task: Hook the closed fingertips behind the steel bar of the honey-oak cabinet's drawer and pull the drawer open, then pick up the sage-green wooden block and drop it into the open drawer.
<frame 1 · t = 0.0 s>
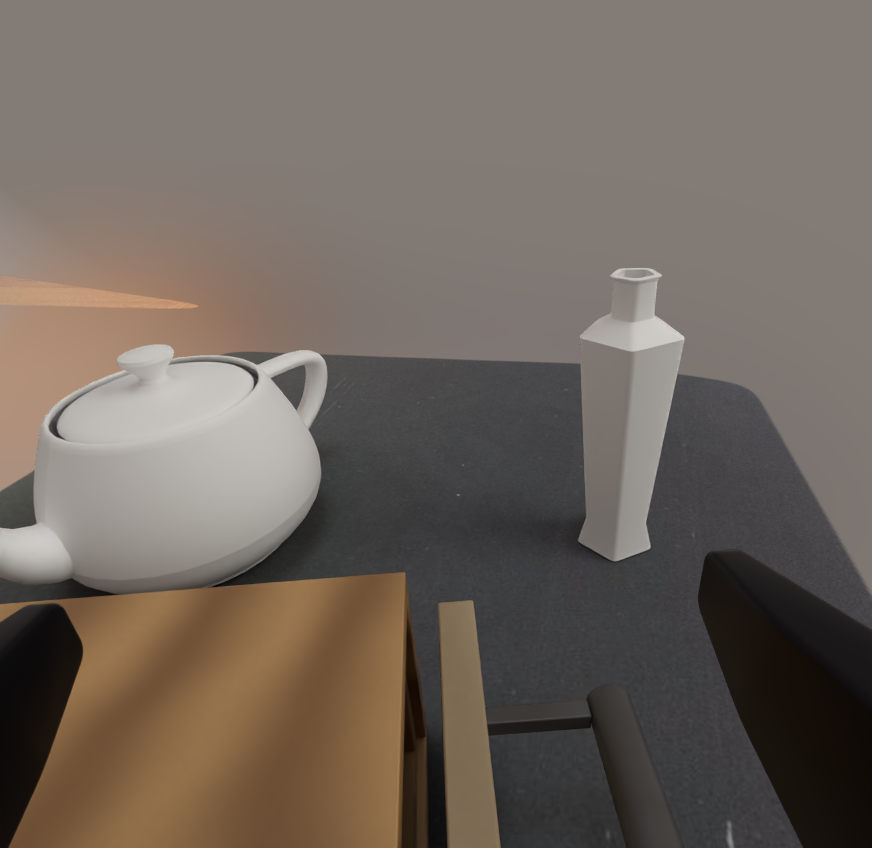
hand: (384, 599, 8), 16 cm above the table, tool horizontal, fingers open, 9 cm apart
white faceted vase: (613, 542, 33), on the table
teapot: (194, 543, 36), on the table
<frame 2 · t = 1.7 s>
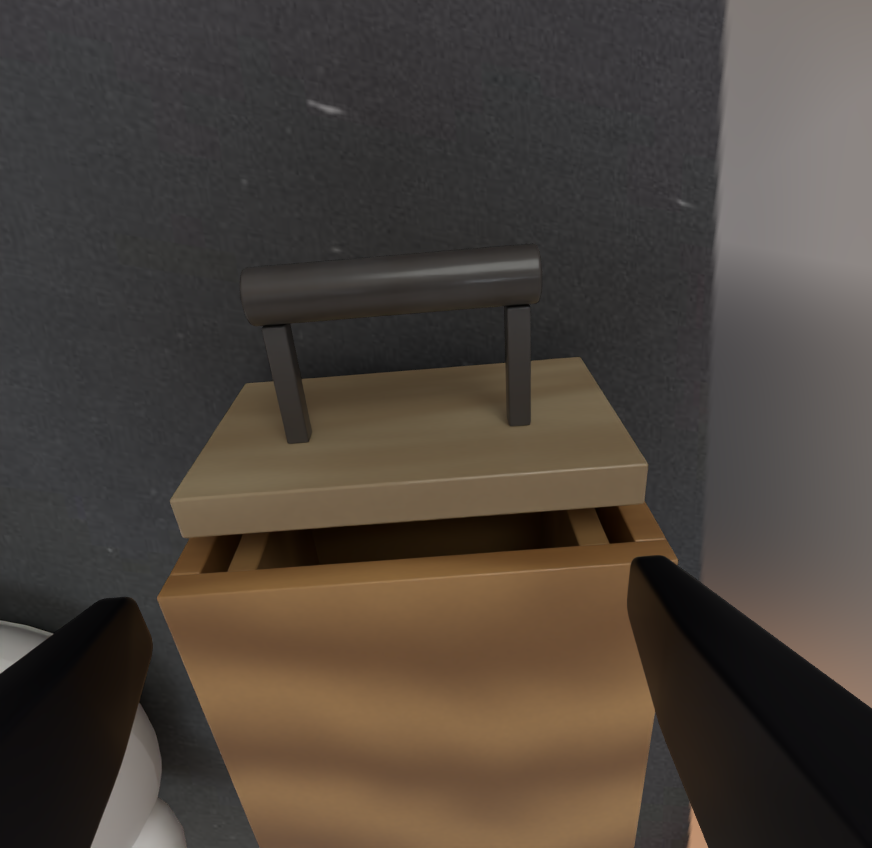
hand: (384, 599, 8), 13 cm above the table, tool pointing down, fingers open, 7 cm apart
drawer: (423, 536, 19), point 4 cm above the table, slide at 1.0 cm
cabinet: (433, 565, 25), on the table
teapot: (42, 700, 29), on the table
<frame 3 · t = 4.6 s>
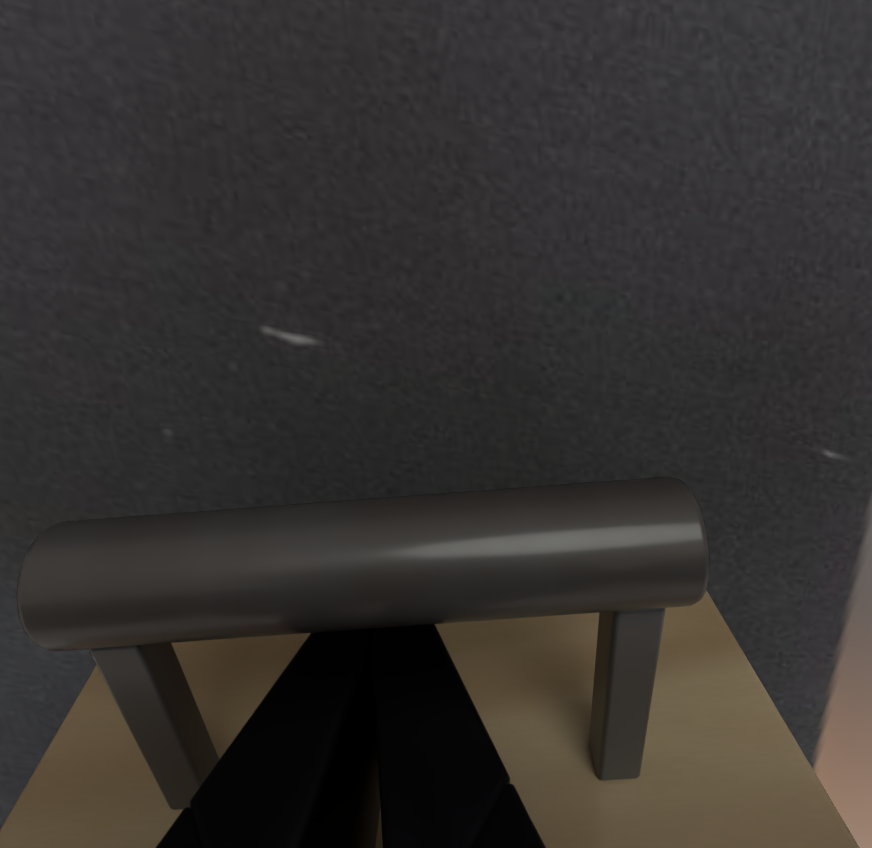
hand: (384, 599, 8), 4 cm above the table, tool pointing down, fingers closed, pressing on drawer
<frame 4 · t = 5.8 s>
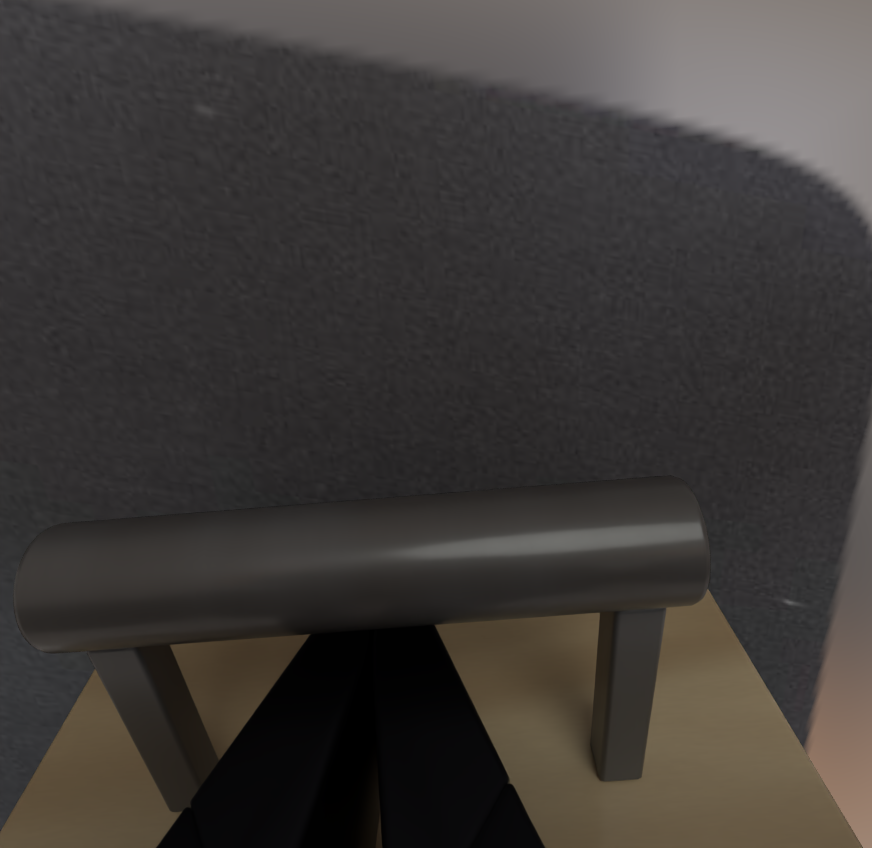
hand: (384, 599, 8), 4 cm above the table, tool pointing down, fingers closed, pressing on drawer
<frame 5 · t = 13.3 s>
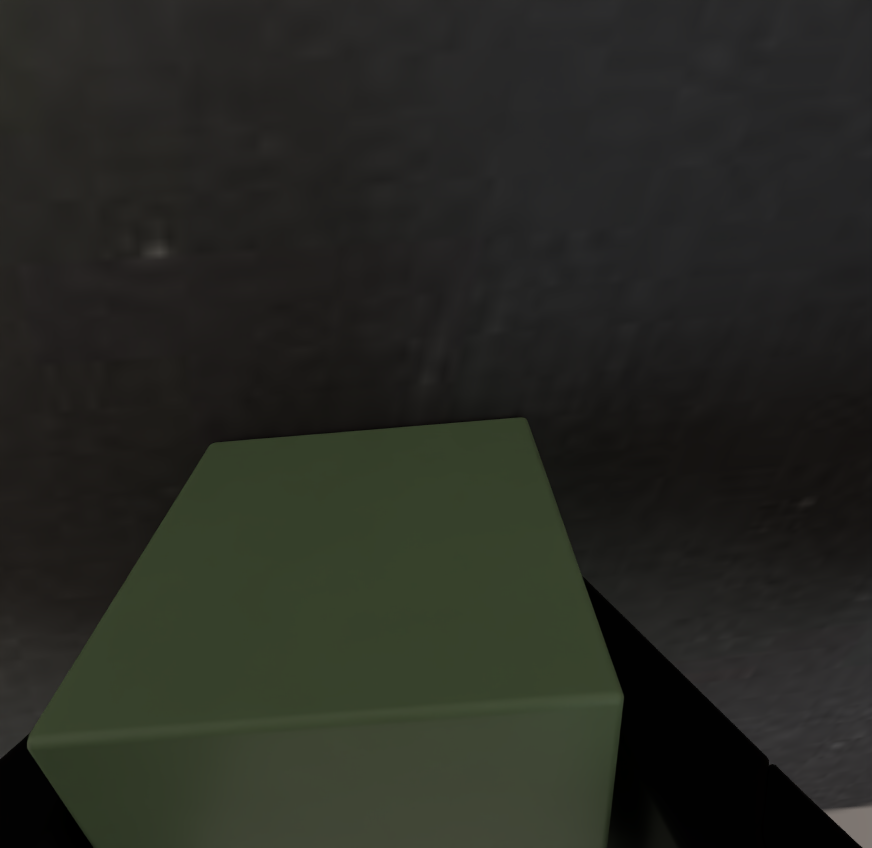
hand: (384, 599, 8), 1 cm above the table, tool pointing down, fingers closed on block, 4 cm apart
block: (386, 551, 9), on the table, touching gripper
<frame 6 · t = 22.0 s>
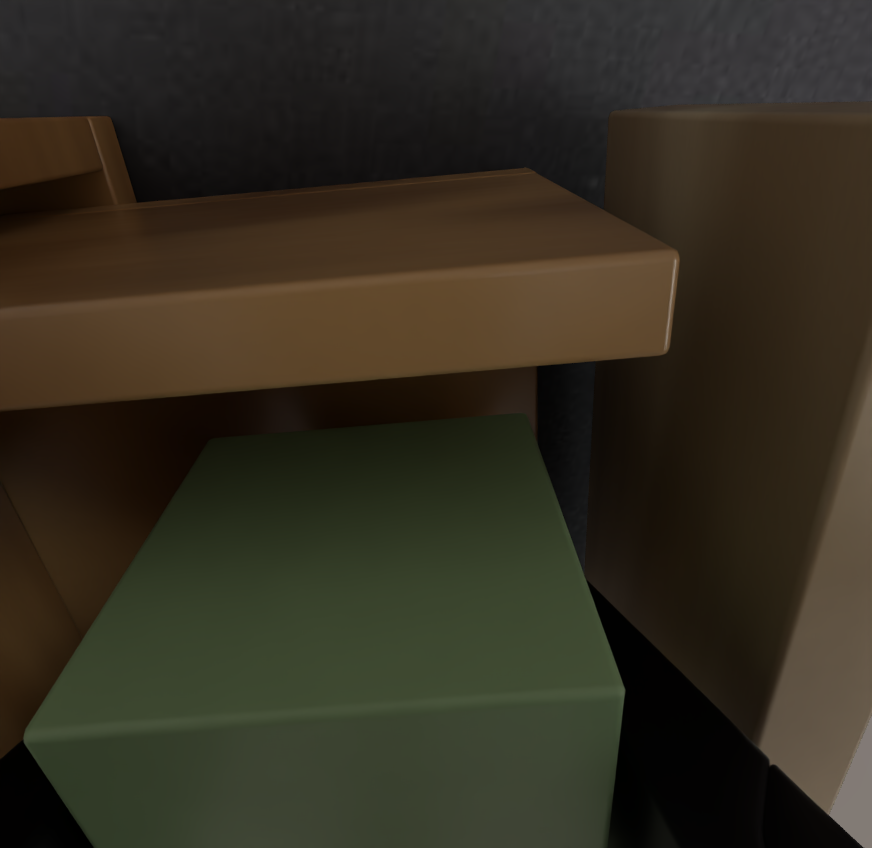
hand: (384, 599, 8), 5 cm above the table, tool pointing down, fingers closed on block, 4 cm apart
drawer: (443, 541, 9), point 4 cm above the table, slide at 8.3 cm
block: (386, 547, 9), point 4 cm above the table, touching gripper
when the fingers open (9 cm above the table, at t = 33.7 s): block drops 6 cm, resting on drawer.
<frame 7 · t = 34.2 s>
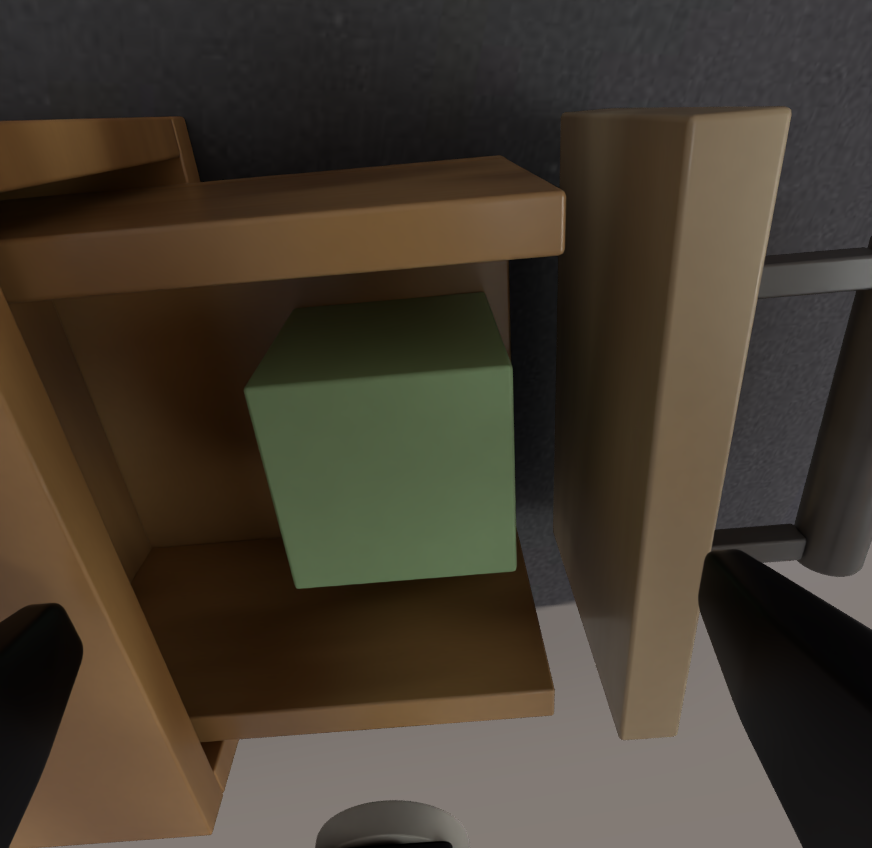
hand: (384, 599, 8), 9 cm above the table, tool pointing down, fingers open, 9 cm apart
drawer: (437, 432, 12), point 4 cm above the table, slide at 8.3 cm, touching block
block: (399, 386, 14), point 2 cm above the table, touching drawer
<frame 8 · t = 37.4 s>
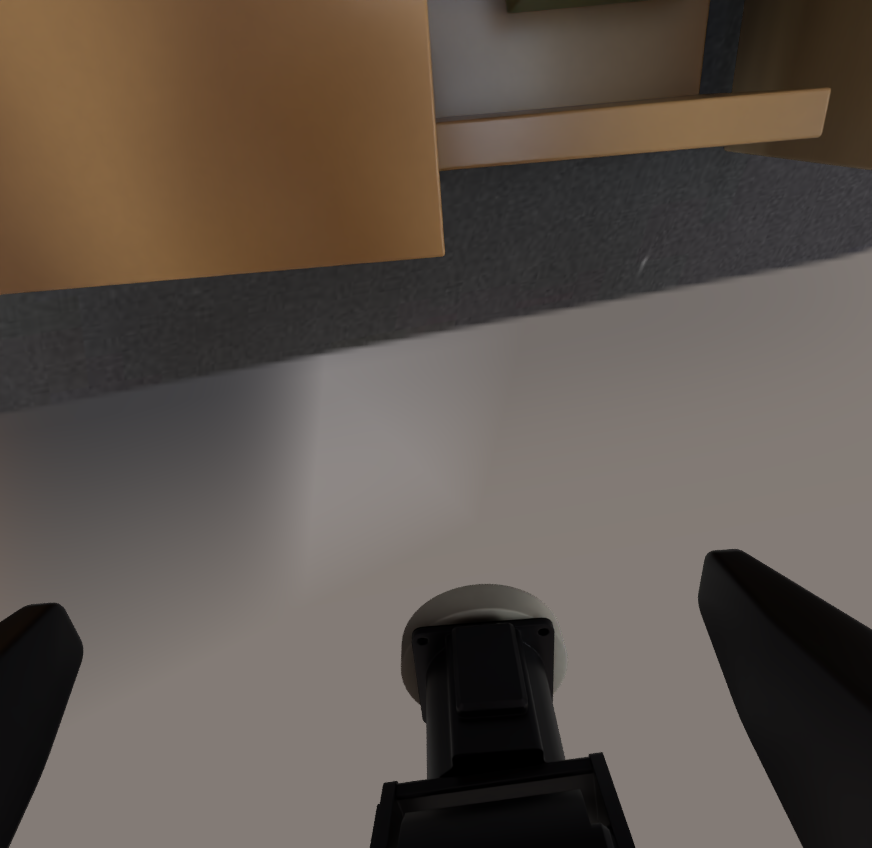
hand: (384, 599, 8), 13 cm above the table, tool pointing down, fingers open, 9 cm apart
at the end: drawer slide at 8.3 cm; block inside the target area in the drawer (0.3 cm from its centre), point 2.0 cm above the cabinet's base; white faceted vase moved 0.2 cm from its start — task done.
